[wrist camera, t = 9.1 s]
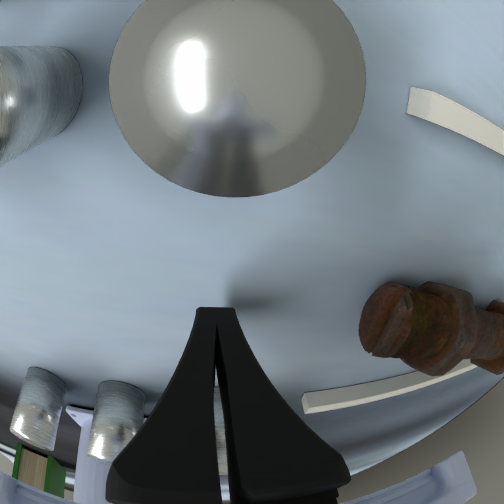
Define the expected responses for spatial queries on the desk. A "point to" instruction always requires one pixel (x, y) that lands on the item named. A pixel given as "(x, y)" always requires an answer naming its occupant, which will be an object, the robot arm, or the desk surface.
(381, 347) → the bolt
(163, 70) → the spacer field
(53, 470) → the hardback book
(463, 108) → the tray rim
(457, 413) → the desk surface
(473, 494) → the robot arm
